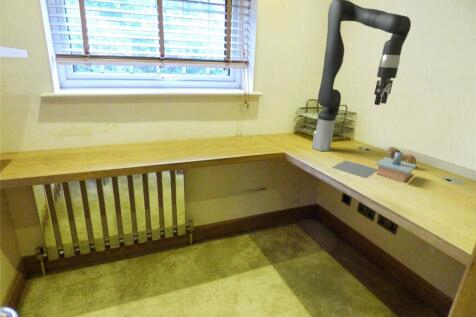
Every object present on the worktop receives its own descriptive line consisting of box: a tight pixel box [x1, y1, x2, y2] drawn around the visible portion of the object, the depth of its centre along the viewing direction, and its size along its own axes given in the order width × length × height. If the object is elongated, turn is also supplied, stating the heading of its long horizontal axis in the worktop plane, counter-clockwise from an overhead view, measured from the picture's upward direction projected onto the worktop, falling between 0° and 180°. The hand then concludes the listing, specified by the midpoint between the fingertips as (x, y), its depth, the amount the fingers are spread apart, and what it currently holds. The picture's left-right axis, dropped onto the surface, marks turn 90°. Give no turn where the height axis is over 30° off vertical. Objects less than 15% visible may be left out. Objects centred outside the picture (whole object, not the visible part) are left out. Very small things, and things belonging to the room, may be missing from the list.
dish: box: [376, 165, 412, 183], centre depth 127 cm, size 11×11×5 cm
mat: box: [331, 160, 378, 179], centre depth 133 cm, size 16×16×1 cm
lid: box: [375, 152, 417, 174], centre depth 126 cm, size 13×13×6 cm
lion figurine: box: [386, 146, 418, 169], centre depth 141 cm, size 15×5×9 cm, turn 67°
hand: (380, 104), depth 129 cm, fingers open, 8 cm apart
